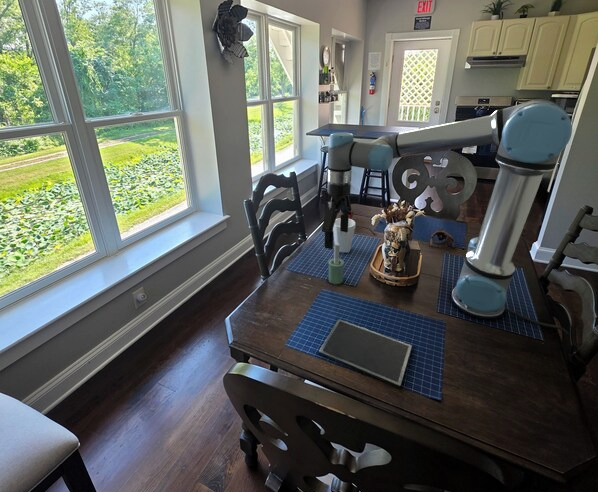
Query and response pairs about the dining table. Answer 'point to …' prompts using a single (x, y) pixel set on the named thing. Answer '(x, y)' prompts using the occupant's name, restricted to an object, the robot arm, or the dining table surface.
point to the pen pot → (336, 272)
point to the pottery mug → (441, 237)
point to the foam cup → (344, 235)
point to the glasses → (361, 215)
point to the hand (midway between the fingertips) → (336, 239)
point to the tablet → (367, 352)
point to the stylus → (336, 254)
